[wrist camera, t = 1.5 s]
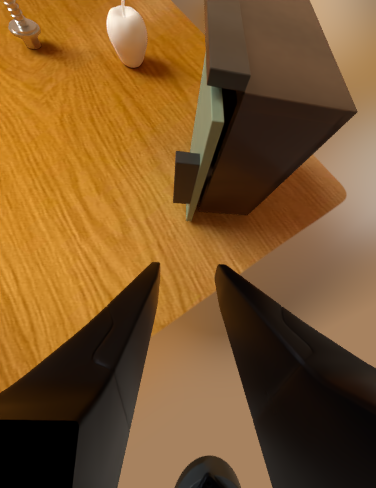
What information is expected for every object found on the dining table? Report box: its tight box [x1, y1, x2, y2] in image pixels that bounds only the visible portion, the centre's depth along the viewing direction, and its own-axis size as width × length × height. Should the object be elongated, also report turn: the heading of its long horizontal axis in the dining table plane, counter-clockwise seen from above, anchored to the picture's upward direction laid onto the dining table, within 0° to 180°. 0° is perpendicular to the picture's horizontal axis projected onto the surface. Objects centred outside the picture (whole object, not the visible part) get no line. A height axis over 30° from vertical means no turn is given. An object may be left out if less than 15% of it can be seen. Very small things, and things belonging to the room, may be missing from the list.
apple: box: [107, 0, 147, 68], centre depth 28 cm, size 7×7×8 cm
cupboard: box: [199, 0, 357, 215], centre depth 19 cm, size 16×10×16 cm, turn 179°
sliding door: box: [173, 53, 224, 221], centre depth 17 cm, size 9×3×14 cm, turn 179°
